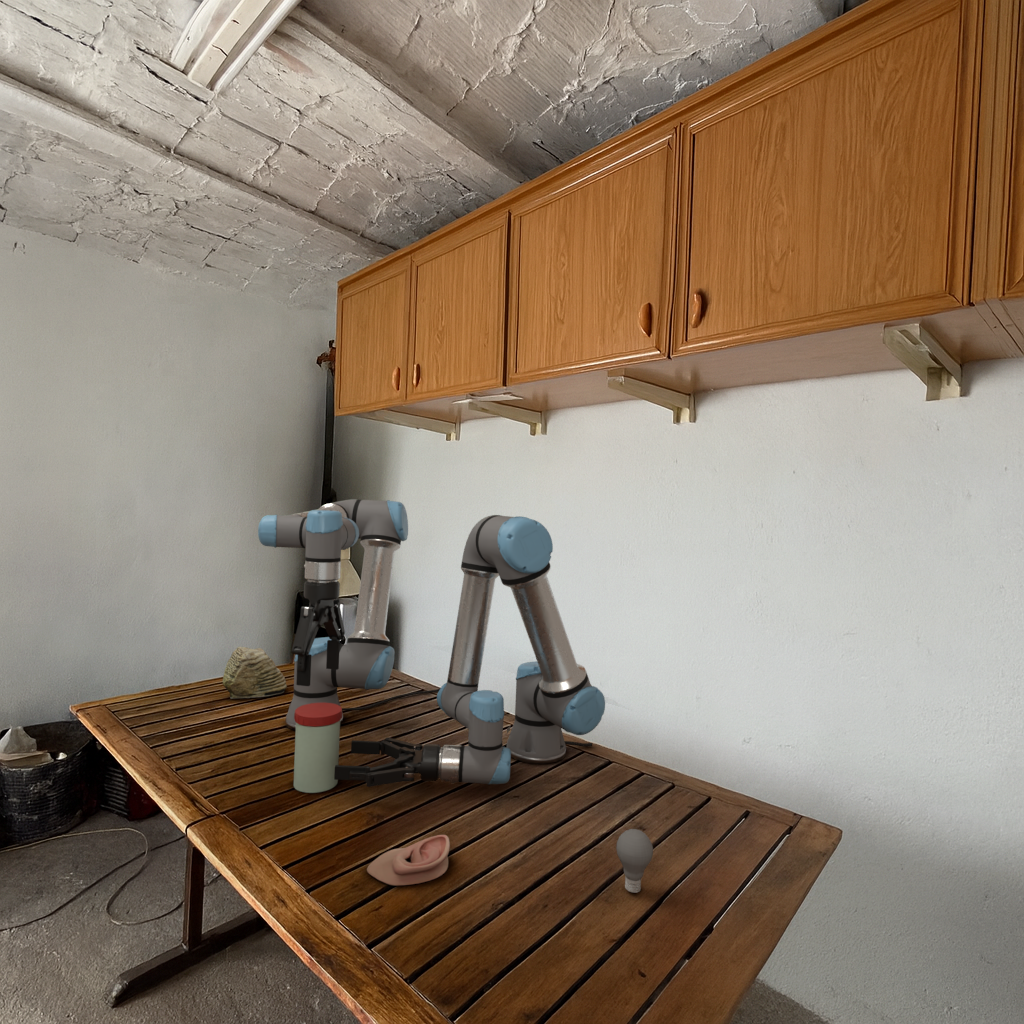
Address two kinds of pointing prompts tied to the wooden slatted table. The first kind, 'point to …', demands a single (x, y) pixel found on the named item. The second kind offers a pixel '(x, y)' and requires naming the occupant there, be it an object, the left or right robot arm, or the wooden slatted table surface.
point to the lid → (318, 714)
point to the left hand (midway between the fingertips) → (318, 676)
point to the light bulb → (634, 857)
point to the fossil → (252, 674)
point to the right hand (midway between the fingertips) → (343, 758)
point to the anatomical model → (412, 862)
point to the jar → (316, 757)
